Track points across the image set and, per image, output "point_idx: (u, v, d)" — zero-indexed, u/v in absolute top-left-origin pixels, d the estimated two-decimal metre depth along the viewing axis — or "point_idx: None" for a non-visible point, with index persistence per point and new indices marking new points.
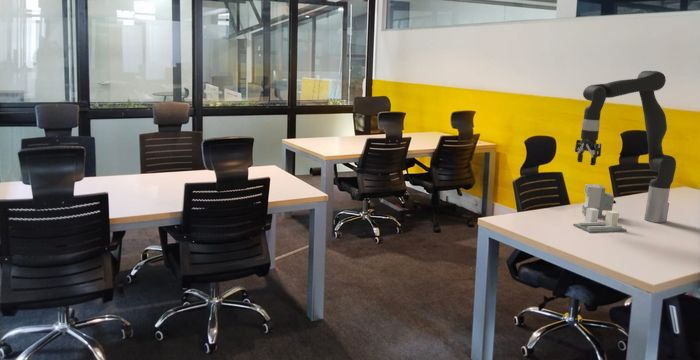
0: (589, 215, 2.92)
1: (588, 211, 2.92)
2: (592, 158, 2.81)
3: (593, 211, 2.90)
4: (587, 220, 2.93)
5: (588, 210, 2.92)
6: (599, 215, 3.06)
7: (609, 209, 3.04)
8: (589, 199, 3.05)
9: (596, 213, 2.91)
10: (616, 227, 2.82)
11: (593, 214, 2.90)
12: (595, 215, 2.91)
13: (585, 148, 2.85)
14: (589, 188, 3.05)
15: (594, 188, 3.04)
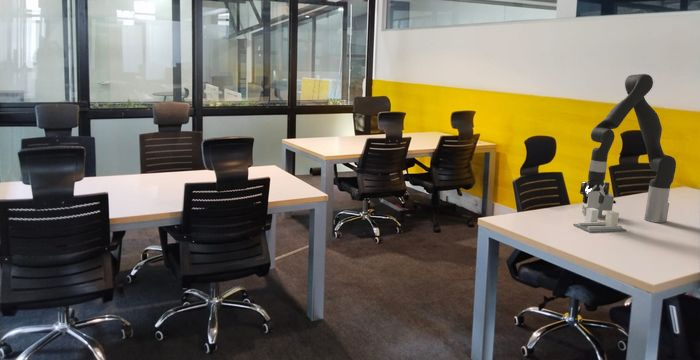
0: (589, 215, 2.92)
1: (588, 211, 2.92)
2: (603, 197, 2.91)
3: (593, 211, 2.90)
4: (587, 220, 2.93)
5: (588, 210, 2.92)
6: (599, 215, 3.06)
7: (609, 209, 3.04)
8: (589, 199, 3.05)
9: (596, 213, 2.91)
10: (616, 227, 2.82)
11: (593, 214, 2.90)
12: (595, 215, 2.91)
13: (595, 189, 2.89)
14: None
15: None
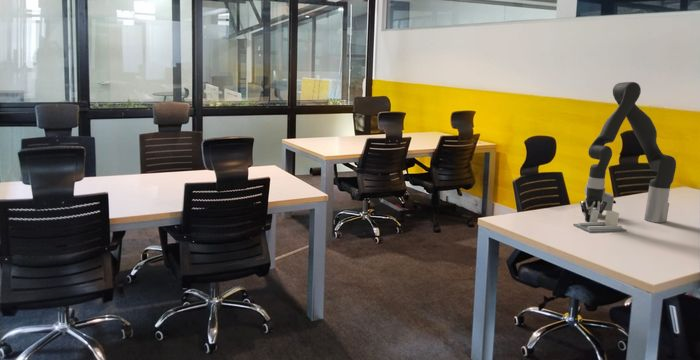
0: None
1: None
2: None
3: (593, 211, 2.90)
4: None
5: (588, 210, 2.92)
6: (599, 215, 3.06)
7: (609, 209, 3.04)
8: None
9: (596, 213, 2.91)
10: (616, 227, 2.82)
11: (593, 214, 2.90)
12: (595, 215, 2.91)
13: (594, 205, 2.90)
14: None
15: None
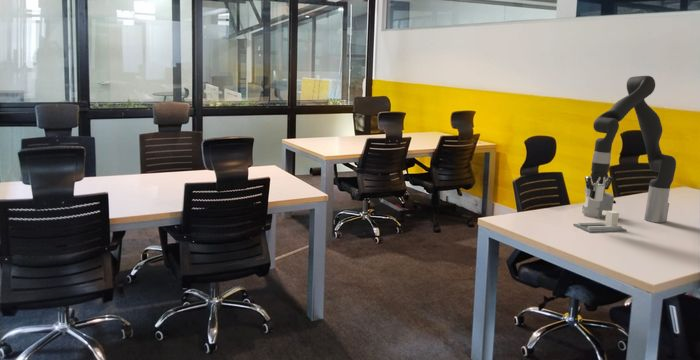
0: None
1: None
2: None
3: (599, 187, 2.77)
4: None
5: (593, 186, 2.80)
6: (599, 215, 3.06)
7: (609, 209, 3.04)
8: (589, 199, 3.05)
9: (601, 189, 2.78)
10: (616, 227, 2.82)
11: (598, 190, 2.77)
12: (601, 191, 2.78)
13: (599, 181, 2.78)
14: None
15: None
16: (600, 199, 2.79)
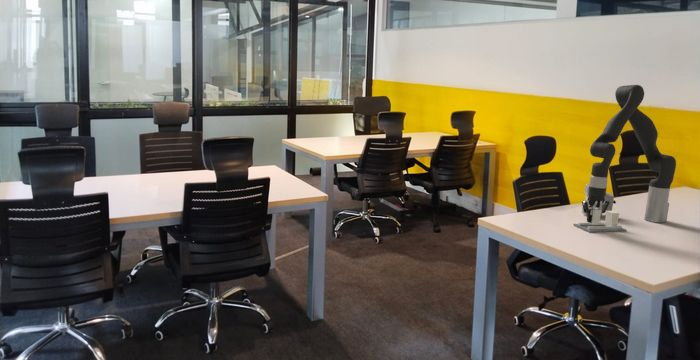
0: None
1: None
2: None
3: (596, 211, 2.79)
4: None
5: (590, 210, 2.82)
6: None
7: (609, 209, 3.04)
8: None
9: (598, 213, 2.80)
10: (616, 227, 2.82)
11: (595, 214, 2.80)
12: (598, 215, 2.80)
13: (596, 205, 2.80)
14: None
15: None
16: (597, 223, 2.81)
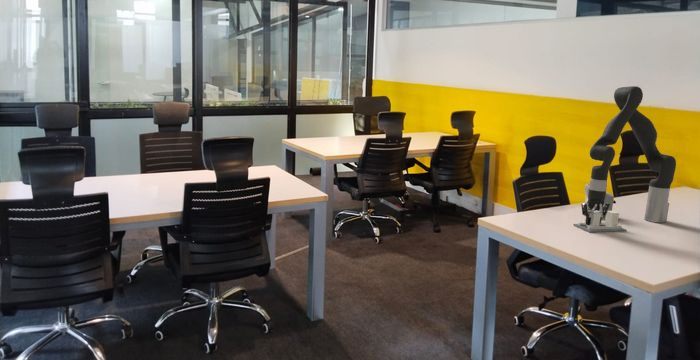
0: (591, 219, 2.81)
1: None
2: (600, 218, 2.82)
3: (595, 214, 2.80)
4: None
5: None
6: None
7: (609, 209, 3.04)
8: None
9: (598, 216, 2.80)
10: (616, 227, 2.82)
11: (594, 217, 2.80)
12: (597, 218, 2.80)
13: (595, 208, 2.80)
14: None
15: None
16: None
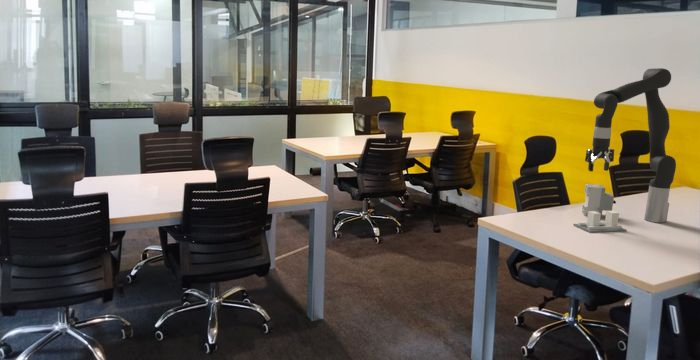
0: (591, 219, 2.81)
1: (590, 214, 2.82)
2: (608, 164, 2.89)
3: (595, 214, 2.80)
4: (589, 224, 2.83)
5: (590, 213, 2.82)
6: None
7: (609, 209, 3.04)
8: (589, 199, 3.05)
9: (598, 216, 2.80)
10: (616, 227, 2.82)
11: (594, 217, 2.80)
12: (597, 218, 2.80)
13: (600, 156, 2.86)
14: (589, 188, 3.05)
15: (594, 188, 3.04)
16: None
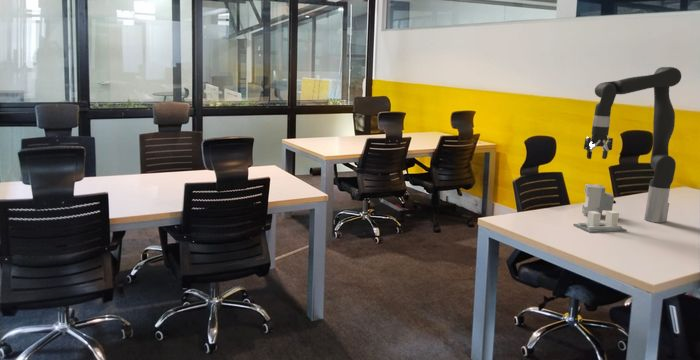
0: (591, 219, 2.81)
1: (590, 214, 2.82)
2: (606, 152, 2.95)
3: (595, 214, 2.80)
4: (589, 224, 2.83)
5: (590, 213, 2.82)
6: None
7: (609, 209, 3.04)
8: (589, 199, 3.05)
9: (598, 216, 2.80)
10: (616, 227, 2.82)
11: (594, 217, 2.80)
12: (597, 218, 2.80)
13: (599, 144, 2.93)
14: (589, 188, 3.05)
15: (594, 188, 3.04)
16: None
